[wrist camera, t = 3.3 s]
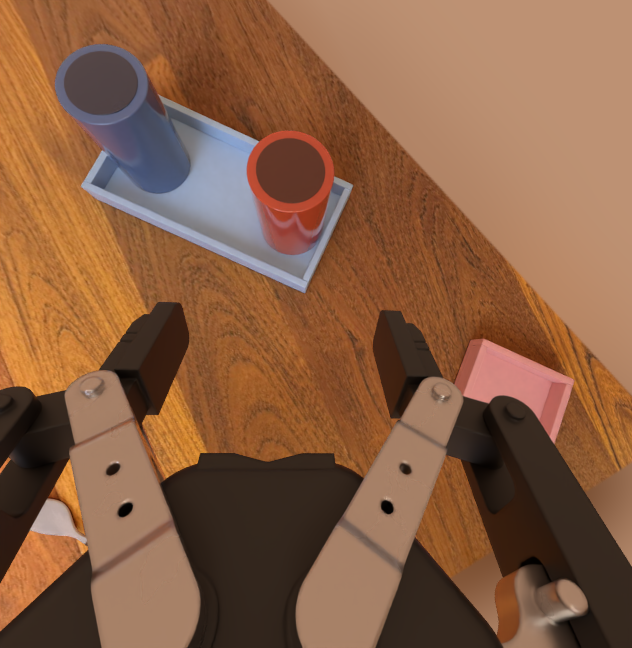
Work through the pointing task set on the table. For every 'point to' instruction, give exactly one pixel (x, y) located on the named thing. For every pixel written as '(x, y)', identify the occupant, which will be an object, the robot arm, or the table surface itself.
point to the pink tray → (514, 382)
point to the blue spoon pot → (123, 115)
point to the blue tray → (215, 200)
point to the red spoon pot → (290, 189)
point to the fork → (56, 521)
